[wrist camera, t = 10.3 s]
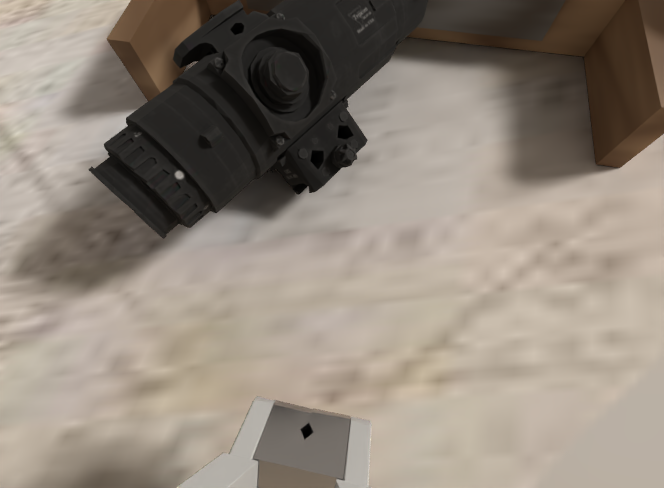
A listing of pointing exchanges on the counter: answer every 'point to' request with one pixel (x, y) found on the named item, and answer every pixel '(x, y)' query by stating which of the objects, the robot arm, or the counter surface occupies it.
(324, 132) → the night vision scope
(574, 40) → the bracket
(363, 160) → the counter surface
